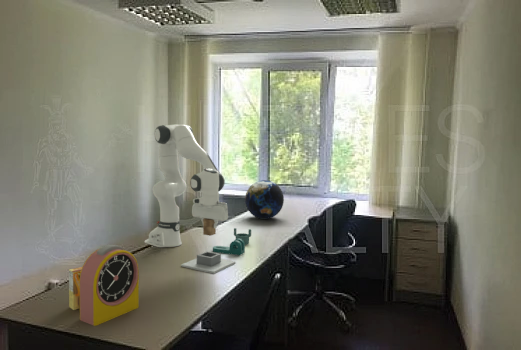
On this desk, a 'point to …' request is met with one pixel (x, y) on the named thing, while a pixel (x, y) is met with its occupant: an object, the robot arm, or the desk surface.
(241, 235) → the bracket
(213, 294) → the desk surface
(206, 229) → the walnut block
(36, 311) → the desk surface
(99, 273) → the alarm clock
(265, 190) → the globe
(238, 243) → the bracket
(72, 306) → the candy box
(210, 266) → the well
